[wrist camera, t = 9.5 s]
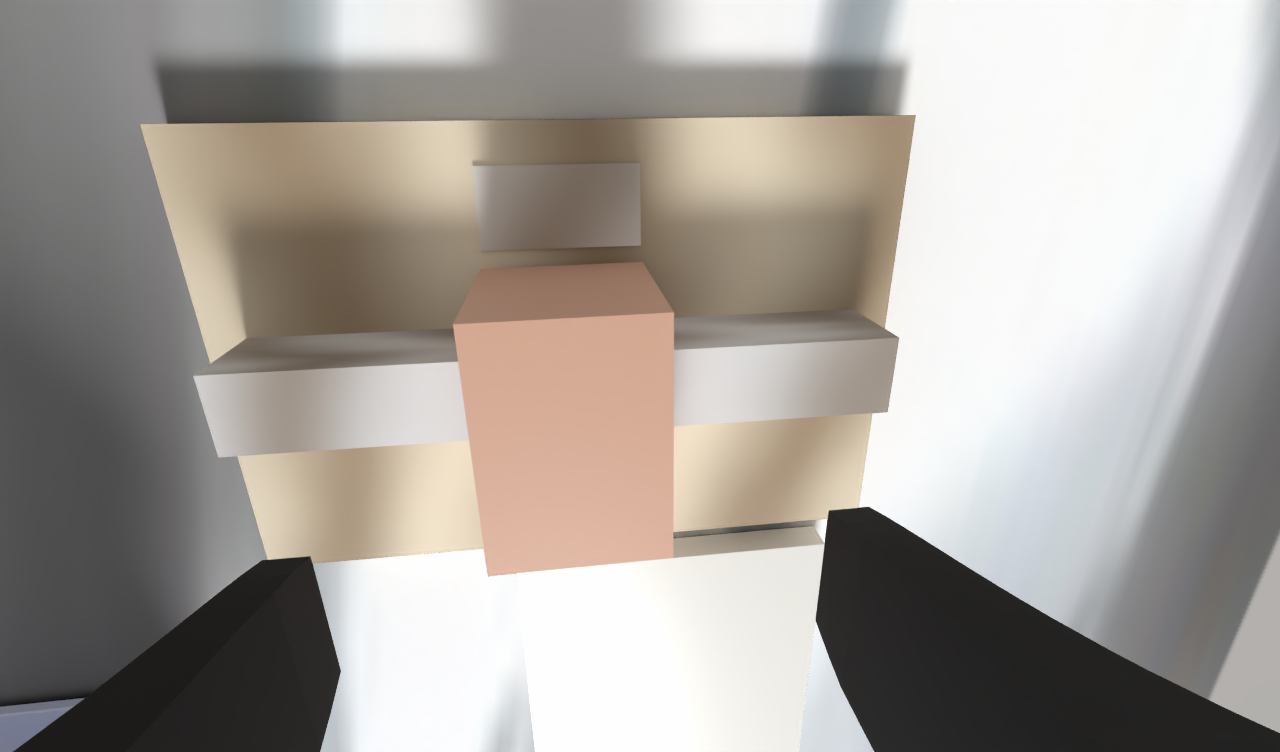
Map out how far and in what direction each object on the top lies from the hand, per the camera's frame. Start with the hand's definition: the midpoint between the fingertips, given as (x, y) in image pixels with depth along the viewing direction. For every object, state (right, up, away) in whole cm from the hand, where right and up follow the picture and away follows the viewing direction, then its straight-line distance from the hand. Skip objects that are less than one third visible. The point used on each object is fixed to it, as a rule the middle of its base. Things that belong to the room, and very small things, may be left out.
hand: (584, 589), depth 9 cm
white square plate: (+2, -7, +14) cm, 16 cm away
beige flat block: (-1, +4, +9) cm, 10 cm away
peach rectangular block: (-1, +3, +8) cm, 8 cm away
